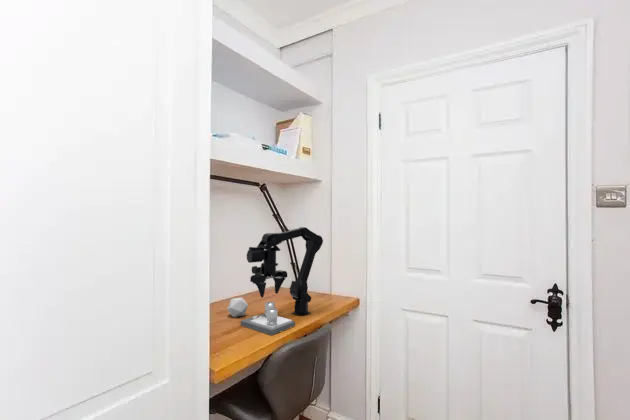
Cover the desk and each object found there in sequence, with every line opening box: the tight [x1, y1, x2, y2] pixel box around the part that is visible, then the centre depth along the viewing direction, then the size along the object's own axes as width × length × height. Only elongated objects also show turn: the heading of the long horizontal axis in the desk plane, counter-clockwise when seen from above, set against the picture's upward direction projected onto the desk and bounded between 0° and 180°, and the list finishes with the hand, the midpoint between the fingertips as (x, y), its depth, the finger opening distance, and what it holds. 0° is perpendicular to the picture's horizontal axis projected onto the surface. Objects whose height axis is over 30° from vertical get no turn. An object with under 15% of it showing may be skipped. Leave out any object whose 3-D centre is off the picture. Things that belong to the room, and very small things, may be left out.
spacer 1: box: [264, 301, 276, 318], centre depth 146 cm, size 4×4×6 cm
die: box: [226, 297, 249, 318], centre depth 156 cm, size 8×9×10 cm
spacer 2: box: [267, 307, 279, 326], centre depth 136 cm, size 4×4×6 cm
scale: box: [240, 312, 296, 336], centre depth 142 cm, size 14×19×3 cm
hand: (269, 295), depth 150 cm, fingers open, 9 cm apart
